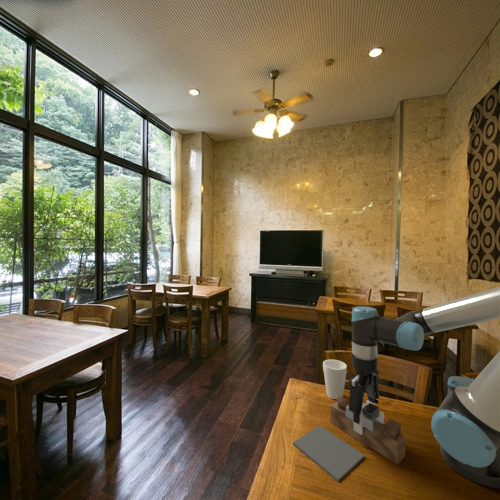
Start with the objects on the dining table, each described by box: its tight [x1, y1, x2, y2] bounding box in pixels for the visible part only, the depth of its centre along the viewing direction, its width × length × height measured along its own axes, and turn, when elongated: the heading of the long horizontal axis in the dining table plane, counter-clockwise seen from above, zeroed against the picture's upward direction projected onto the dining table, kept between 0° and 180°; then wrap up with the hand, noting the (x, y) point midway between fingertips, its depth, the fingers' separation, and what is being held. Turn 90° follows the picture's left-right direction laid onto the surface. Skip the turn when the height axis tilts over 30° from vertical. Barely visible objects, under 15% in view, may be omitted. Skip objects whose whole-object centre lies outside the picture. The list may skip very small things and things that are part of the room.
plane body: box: [330, 396, 406, 465], centre depth 81 cm, size 22×5×9 cm, turn 37°
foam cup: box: [322, 359, 348, 400], centre depth 105 cm, size 10×9×13 cm
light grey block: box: [346, 402, 385, 432], centre depth 81 cm, size 9×7×5 cm
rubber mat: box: [292, 424, 365, 482], centre depth 76 cm, size 16×13×1 cm
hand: (364, 426), depth 81 cm, fingers closed on light grey block, 7 cm apart
